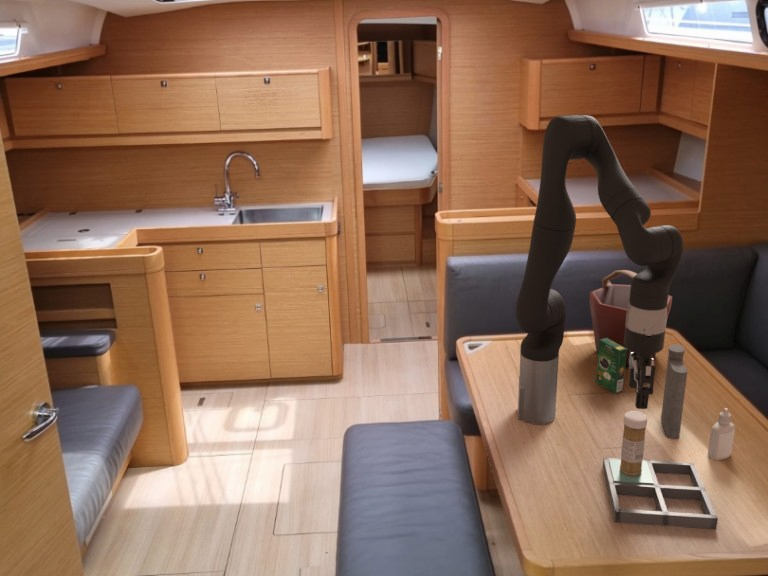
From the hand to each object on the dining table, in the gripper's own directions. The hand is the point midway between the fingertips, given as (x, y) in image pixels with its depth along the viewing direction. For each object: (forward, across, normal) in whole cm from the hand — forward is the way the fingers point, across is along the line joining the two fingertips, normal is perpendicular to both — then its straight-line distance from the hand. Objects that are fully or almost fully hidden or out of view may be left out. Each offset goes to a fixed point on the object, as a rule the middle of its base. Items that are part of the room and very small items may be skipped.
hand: (637, 397), depth 149 cm
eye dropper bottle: (+21, -12, +22) cm, 32 cm away
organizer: (+20, +4, +5) cm, 21 cm away
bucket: (+21, -64, +10) cm, 69 cm away
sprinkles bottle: (+18, 0, 0) cm, 18 cm away
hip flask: (+21, -26, +14) cm, 36 cm away
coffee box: (+21, -43, +2) cm, 48 cm away
